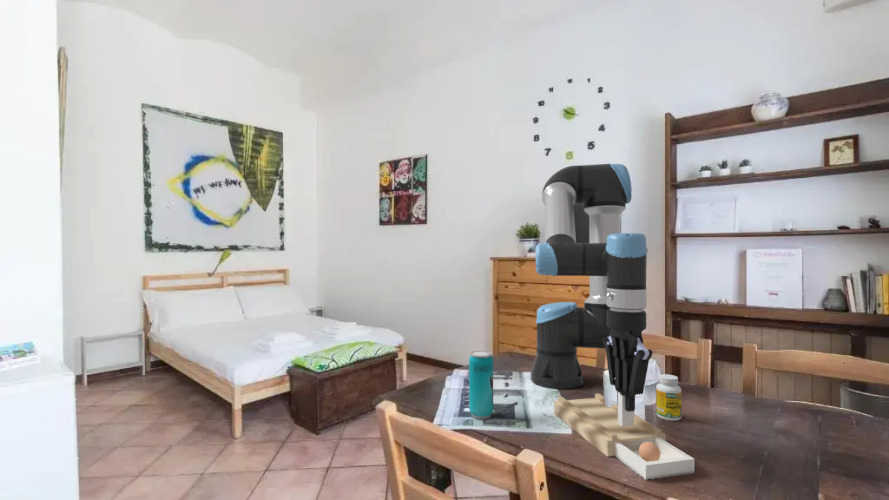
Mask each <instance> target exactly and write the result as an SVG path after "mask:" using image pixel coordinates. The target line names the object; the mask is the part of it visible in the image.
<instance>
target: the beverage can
mask: <svg viewBox="0 0 889 500" xmlns="http://www.w3.org/2000/svg"><path fill="white" fill-rule="evenodd" d="M468 374H469V375H468V408H469V411H470V414H471V416H472V418H474V419H475V420H487V419H490V418H491V416H492V414H493V411H494V358H493V353H492V352H491V351H487V350H474V351H471V352H470V356H469V359H468Z"/></svg>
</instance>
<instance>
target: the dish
mask: <svg viewBox="0 0 889 500" xmlns="http://www.w3.org/2000/svg"><path fill="white" fill-rule="evenodd" d="M648 439H650V438H648ZM651 439H652V438H651ZM653 439H655V440H649V441H648V440H643V439H642V440H640V441H639V440H637V442H639V443H637V444H638V445H637V444H636V440H632V441H630V442H631V444H630V443H629V444H628V445H630V446H628V445H627V443H628V442H629V441H624V443H623V442H621V443H622V444H621V443H620V442H615V443H614V456H613V457H615V458H617V459H618V460H619V462H622V463H623V464H624V465H626V466H627V467H628V469H631V470H632V471H633V472H634V471H635V473H636V474H637V475H638V474H639V475H638V476H640V477H641V476H642V477H643V478H644V481H649V480H648V479H651V480H656V479H655V478H658V479H664V478H663V477H665V478H670V477H671V476H672V477H678V476H685V475H693V474H695V468H696V467H695V458H694V457H692V456H691V455H689V454H687V453H686V452H684V451H682V450H681V449H679V448H677V447H676V446H674V445H672V444H671V443H669V442H668V441H667V440H666V441H664V440H663V439H661V438H660V437H657V438H653ZM633 441H634V443H635V444H634V443H632V442H633ZM644 441H645V442H646V441H648V442H650V441H651V442H652V441H653V442H652V443H654V444H655V445H656V446H657V447H658V448H659V450H660V458H659V460H658V461H650V462H646V461H645V460H643V459H642V458H641V456H640V454H639V451H638V450H637V449H639V448H637V447H636V446H638V447H640V445H639V444H640V443H643V442H644ZM625 442H626V444H625ZM632 444H634V445H633V446H634V447H633V446H632ZM635 445H636V446H635ZM627 446H628V447H630V449H635V450H637V451H635V450H634V451H633V450H632V451H631V450H630V449H629V448H628V447H627ZM631 447H632V448H631ZM635 447H636V448H635ZM642 477H641V478H642ZM643 478H642V479H643ZM646 479H647V480H646Z"/></svg>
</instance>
